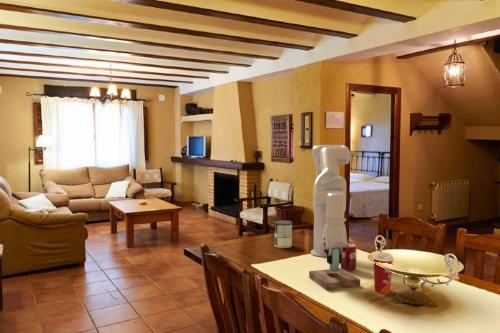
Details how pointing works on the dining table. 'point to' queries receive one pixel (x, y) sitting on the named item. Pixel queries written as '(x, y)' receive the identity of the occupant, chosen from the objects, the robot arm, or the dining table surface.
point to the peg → (335, 260)
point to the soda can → (349, 258)
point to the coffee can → (283, 234)
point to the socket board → (334, 279)
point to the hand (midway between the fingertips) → (334, 262)
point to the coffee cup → (382, 273)
